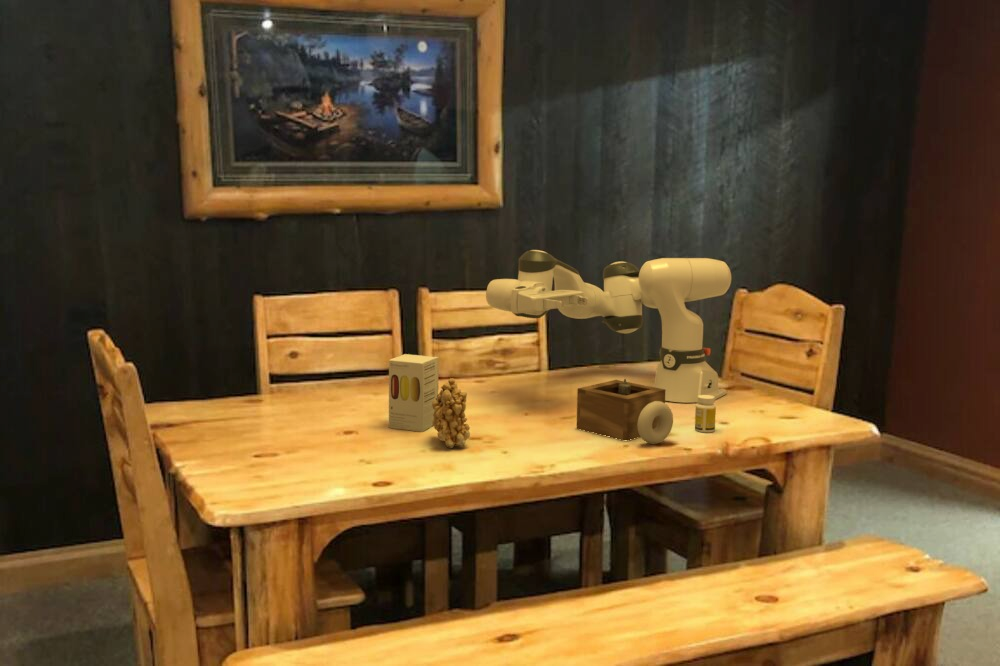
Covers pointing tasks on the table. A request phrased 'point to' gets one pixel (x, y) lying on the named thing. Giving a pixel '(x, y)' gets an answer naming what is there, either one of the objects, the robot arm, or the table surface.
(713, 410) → the supplement bottle
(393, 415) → the supplement box
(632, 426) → the box
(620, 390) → the salt shaker
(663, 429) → the donut
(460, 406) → the mineral formation
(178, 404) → the table surface
